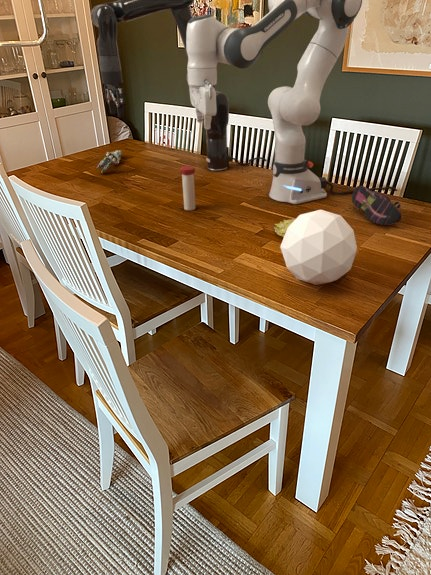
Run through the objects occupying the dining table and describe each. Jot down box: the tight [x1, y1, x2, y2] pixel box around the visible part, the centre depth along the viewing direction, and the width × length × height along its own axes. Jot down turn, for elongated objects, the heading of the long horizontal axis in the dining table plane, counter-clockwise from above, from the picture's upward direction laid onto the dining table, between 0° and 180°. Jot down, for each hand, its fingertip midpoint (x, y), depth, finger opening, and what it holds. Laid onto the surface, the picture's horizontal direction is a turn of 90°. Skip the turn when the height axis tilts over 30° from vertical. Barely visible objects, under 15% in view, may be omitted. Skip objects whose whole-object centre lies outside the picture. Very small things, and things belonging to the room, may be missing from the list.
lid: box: [180, 165, 196, 175], centre depth 159 cm, size 5×5×2 cm
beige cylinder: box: [181, 173, 196, 211], centre depth 163 cm, size 4×4×15 cm
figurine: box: [96, 150, 123, 174], centre depth 213 cm, size 7×8×30 cm
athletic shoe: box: [351, 185, 403, 226], centre depth 153 cm, size 11×22×12 cm
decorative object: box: [273, 218, 296, 238], centre depth 145 cm, size 21×2×20 cm
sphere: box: [279, 209, 358, 286], centre depth 117 cm, size 19×20×20 cm
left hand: (117, 115), depth 171 cm, fingers open, 8 cm apart
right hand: (203, 125), depth 141 cm, fingers open, 8 cm apart
